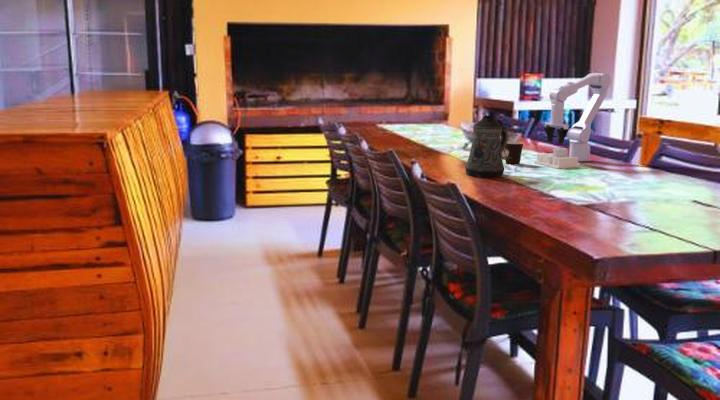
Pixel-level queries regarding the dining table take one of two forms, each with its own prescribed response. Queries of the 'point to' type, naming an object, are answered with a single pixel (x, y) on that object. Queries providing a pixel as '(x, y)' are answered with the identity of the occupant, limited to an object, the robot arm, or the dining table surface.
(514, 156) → the coffee mug
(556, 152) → the plate tile
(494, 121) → the beer stein
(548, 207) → the dining table surface
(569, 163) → the dish rack
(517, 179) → the dining table surface
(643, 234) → the dining table surface
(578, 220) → the dining table surface
